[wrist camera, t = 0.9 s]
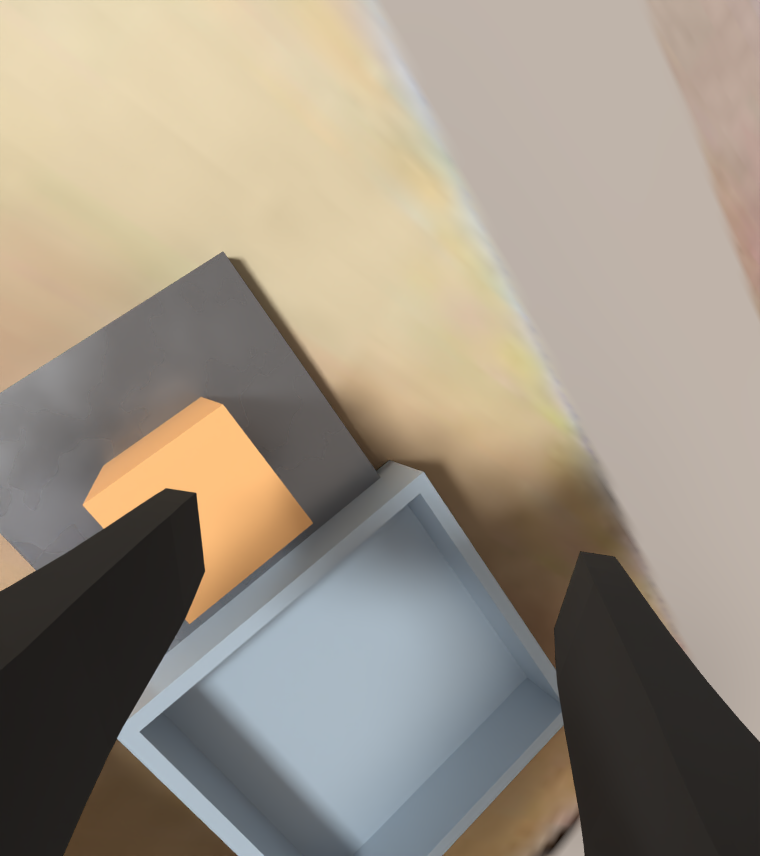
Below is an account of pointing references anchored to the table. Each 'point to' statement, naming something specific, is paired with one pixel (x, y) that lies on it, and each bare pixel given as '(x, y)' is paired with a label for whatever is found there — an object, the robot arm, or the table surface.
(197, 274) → the stud plate
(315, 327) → the table surface
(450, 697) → the slate bin
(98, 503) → the orange rectangular block
